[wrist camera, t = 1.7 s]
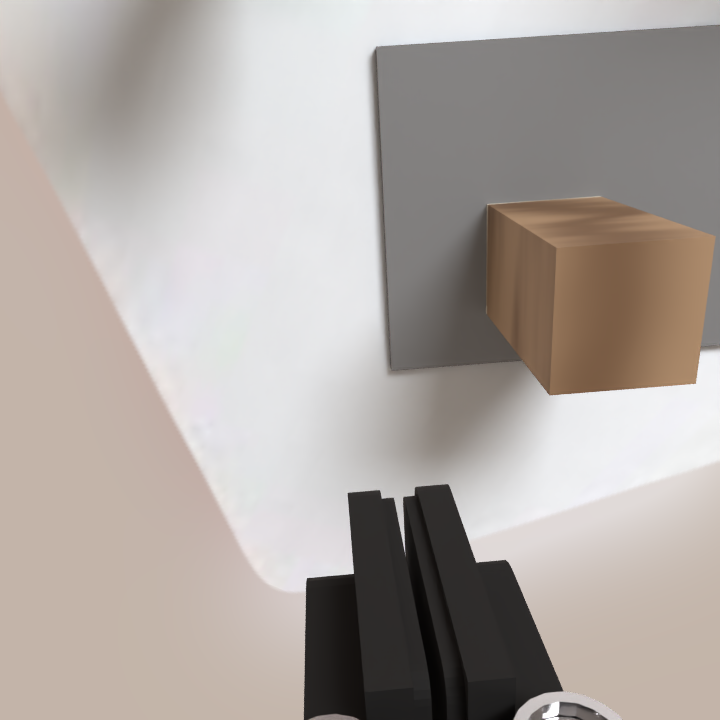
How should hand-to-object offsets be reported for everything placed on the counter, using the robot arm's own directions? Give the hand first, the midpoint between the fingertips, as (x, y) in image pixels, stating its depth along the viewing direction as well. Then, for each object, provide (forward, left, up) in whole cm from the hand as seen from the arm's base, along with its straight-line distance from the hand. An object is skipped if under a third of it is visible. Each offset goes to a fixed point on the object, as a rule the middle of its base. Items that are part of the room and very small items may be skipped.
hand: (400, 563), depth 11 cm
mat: (-12, -2, -21) cm, 24 cm away
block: (-9, 0, -20) cm, 22 cm away
